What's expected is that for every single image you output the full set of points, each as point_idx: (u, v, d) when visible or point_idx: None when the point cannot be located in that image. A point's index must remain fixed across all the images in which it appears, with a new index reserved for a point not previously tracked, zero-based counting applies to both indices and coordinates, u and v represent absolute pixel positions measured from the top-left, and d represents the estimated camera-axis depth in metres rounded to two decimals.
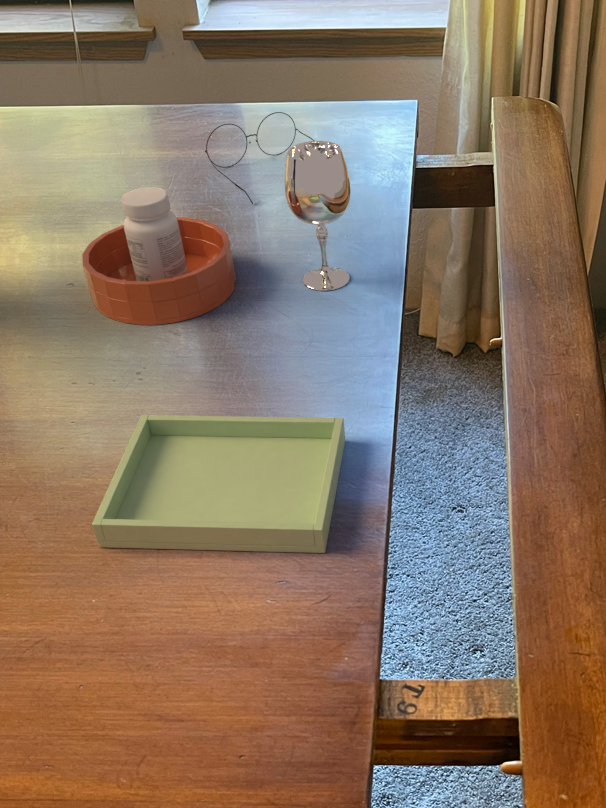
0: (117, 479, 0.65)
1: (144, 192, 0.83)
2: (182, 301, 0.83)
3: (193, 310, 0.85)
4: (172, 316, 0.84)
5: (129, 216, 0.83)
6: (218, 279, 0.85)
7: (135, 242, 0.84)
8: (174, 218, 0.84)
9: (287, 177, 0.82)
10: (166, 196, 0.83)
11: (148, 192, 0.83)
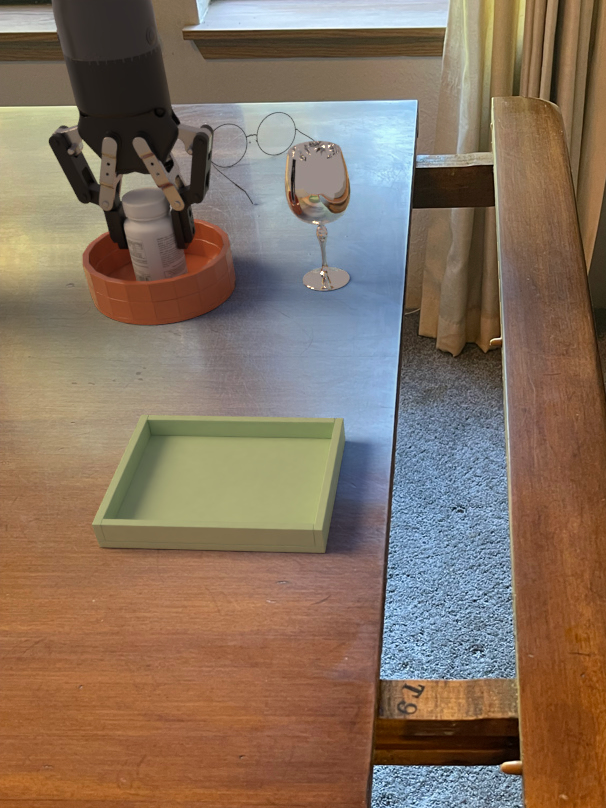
0: (117, 479, 0.65)
1: (144, 192, 0.83)
2: (182, 301, 0.83)
3: (193, 310, 0.85)
4: (172, 316, 0.84)
5: (129, 216, 0.83)
6: (218, 279, 0.85)
7: (135, 242, 0.84)
8: None
9: (287, 177, 0.82)
10: None
11: (148, 192, 0.83)
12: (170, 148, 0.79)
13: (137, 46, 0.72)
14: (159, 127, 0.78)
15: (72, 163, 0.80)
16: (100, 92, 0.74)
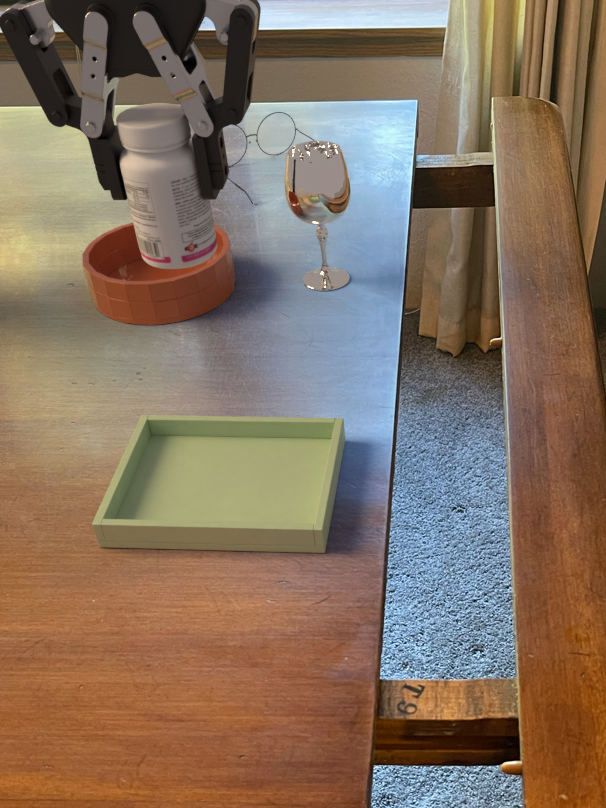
0: (117, 479, 0.65)
1: (151, 110, 0.54)
2: (182, 301, 0.83)
3: (193, 310, 0.85)
4: (172, 316, 0.84)
5: (128, 146, 0.53)
6: (218, 279, 0.85)
7: (137, 186, 0.54)
8: None
9: (287, 177, 0.82)
10: (185, 115, 0.54)
11: (157, 110, 0.54)
12: (193, 33, 0.50)
13: None
14: None
15: (38, 59, 0.51)
16: None
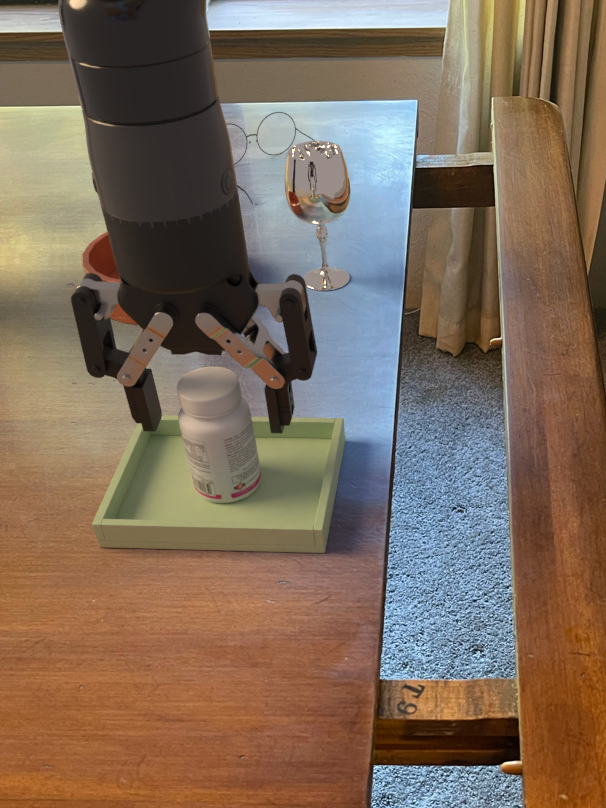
0: (117, 479, 0.65)
1: (207, 376, 0.62)
2: None
3: None
4: None
5: (187, 411, 0.61)
6: None
7: (194, 443, 0.62)
8: (246, 409, 0.63)
9: (287, 177, 0.82)
10: (237, 383, 0.61)
11: (212, 376, 0.62)
12: (246, 323, 0.57)
13: (209, 200, 0.50)
14: (232, 298, 0.55)
15: (96, 329, 0.57)
16: (153, 263, 0.51)
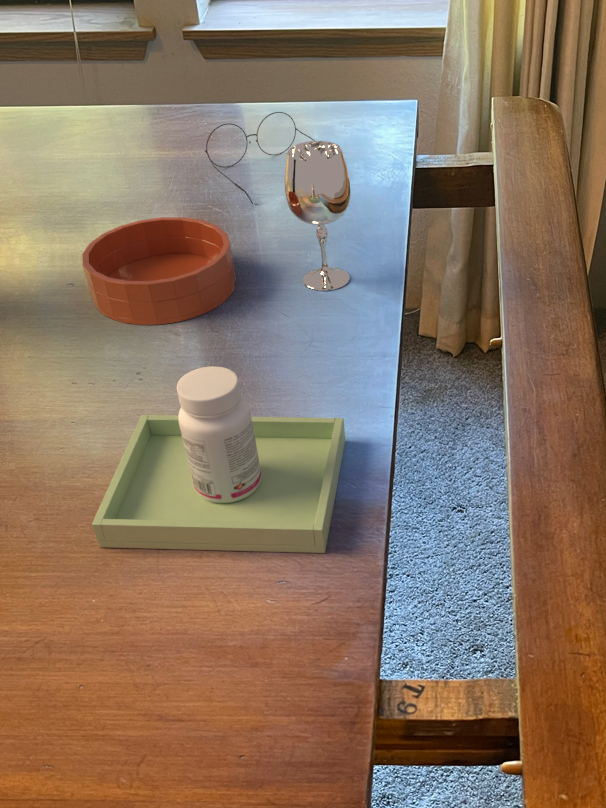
0: (117, 479, 0.65)
1: (207, 376, 0.62)
2: (182, 301, 0.83)
3: (193, 310, 0.85)
4: (172, 316, 0.84)
5: (187, 411, 0.61)
6: (218, 279, 0.85)
7: (194, 442, 0.62)
8: (246, 408, 0.63)
9: (287, 177, 0.82)
10: (237, 383, 0.61)
11: (212, 376, 0.62)
12: None
13: None
14: None
15: None
16: None
